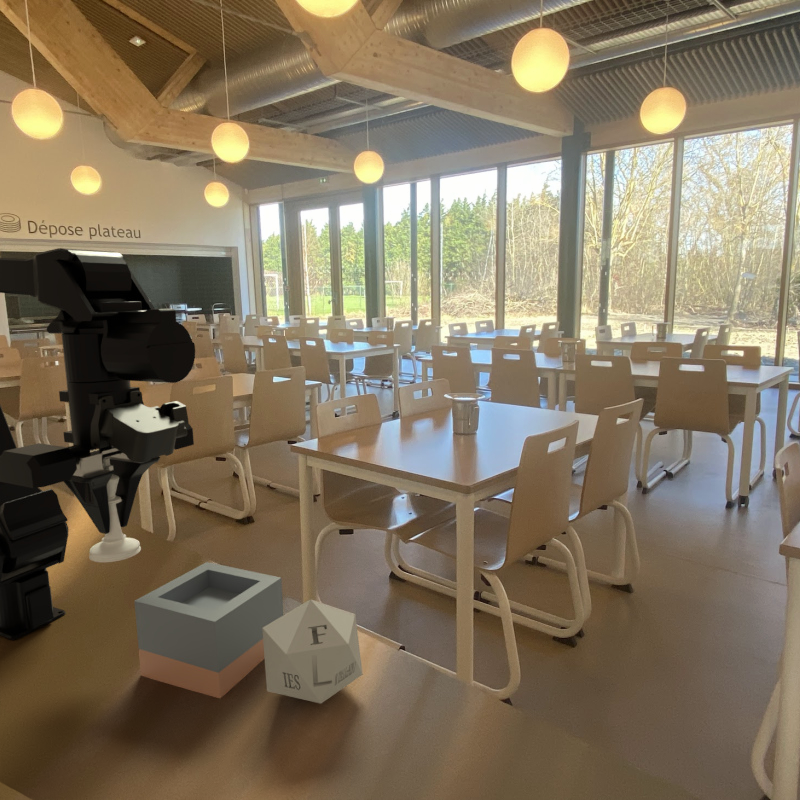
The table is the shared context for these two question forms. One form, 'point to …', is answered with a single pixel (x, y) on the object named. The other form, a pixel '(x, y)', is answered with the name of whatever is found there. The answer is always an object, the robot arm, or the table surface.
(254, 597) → the grey planter box
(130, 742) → the table surface
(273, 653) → the die
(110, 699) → the table surface
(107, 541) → the chess piece
